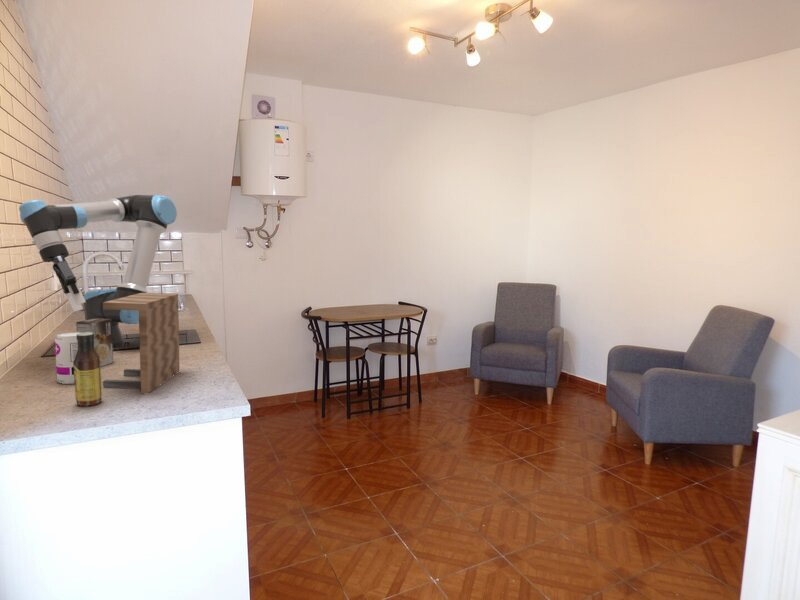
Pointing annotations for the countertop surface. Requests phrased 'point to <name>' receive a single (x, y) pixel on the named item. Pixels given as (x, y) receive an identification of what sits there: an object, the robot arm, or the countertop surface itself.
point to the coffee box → (99, 337)
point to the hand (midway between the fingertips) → (79, 307)
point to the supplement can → (65, 356)
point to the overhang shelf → (151, 339)
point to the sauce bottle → (87, 371)
